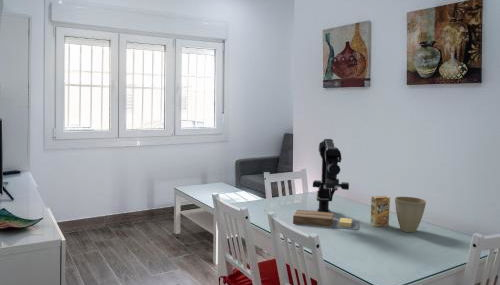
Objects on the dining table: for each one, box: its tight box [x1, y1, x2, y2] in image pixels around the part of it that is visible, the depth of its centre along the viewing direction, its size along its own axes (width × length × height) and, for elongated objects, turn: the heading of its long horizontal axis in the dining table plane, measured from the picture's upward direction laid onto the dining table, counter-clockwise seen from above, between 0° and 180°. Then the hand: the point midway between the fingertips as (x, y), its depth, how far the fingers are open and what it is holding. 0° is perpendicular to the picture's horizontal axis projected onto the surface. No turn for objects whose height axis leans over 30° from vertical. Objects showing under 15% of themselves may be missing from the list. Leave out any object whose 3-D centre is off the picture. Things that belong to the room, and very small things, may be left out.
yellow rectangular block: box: [339, 217, 353, 227], centre depth 224 cm, size 9×6×2 cm, turn 164°
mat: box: [331, 218, 360, 231], centre depth 224 cm, size 16×13×1 cm
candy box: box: [369, 195, 391, 227], centre depth 224 cm, size 9×4×15 cm, turn 107°
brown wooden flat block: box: [292, 209, 335, 228], centre depth 228 cm, size 14×20×4 cm
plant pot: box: [394, 196, 427, 233], centre depth 216 cm, size 15×15×16 cm
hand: (330, 200), depth 227 cm, fingers closed
